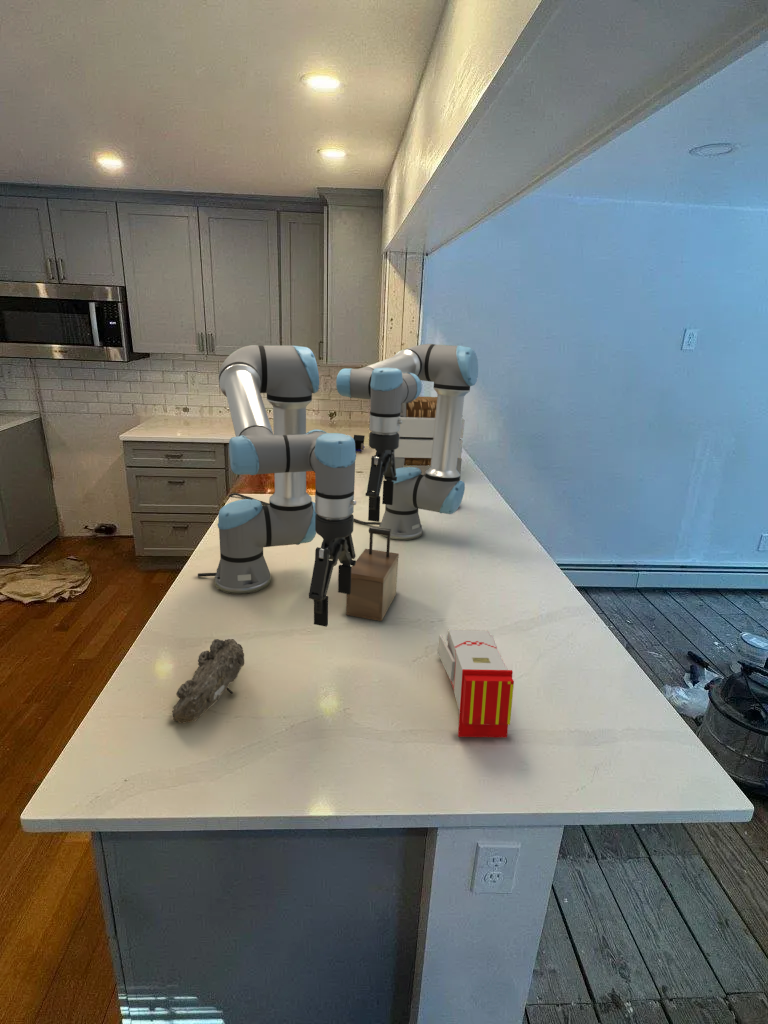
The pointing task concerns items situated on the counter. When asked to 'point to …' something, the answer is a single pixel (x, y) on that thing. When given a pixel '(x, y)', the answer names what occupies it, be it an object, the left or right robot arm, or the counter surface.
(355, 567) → the lid
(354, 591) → the chest
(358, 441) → the figurine character
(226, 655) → the fossil
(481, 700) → the toy
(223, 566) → the left robot arm
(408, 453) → the white wooden crate
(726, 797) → the counter surface
